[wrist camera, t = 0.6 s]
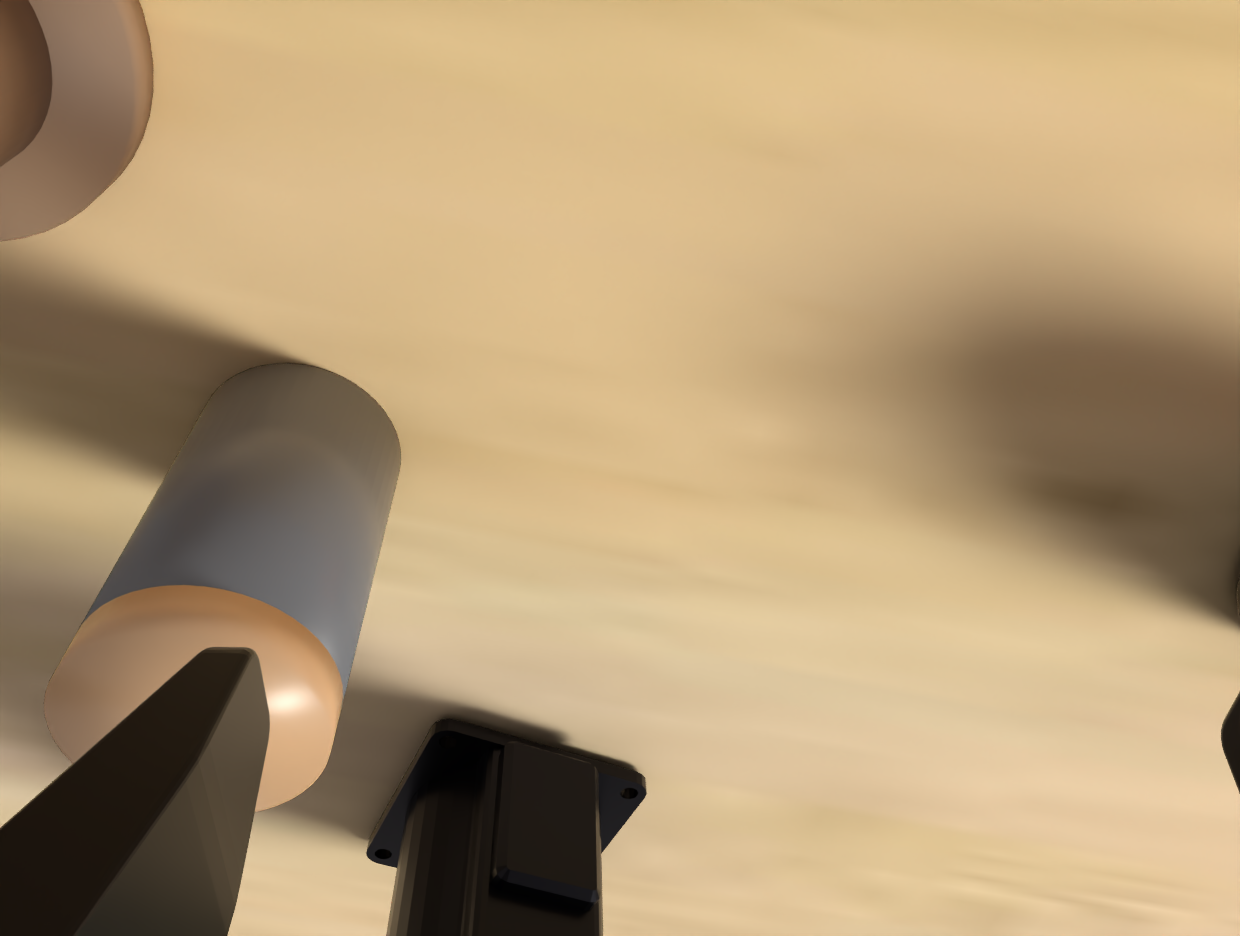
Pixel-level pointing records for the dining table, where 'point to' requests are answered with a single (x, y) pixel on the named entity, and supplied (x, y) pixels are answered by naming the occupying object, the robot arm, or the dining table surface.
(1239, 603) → the supplement bottle
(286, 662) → the grey capped cylinder
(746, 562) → the dining table surface
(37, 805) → the robot arm
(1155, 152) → the dining table surface
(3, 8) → the door knob
